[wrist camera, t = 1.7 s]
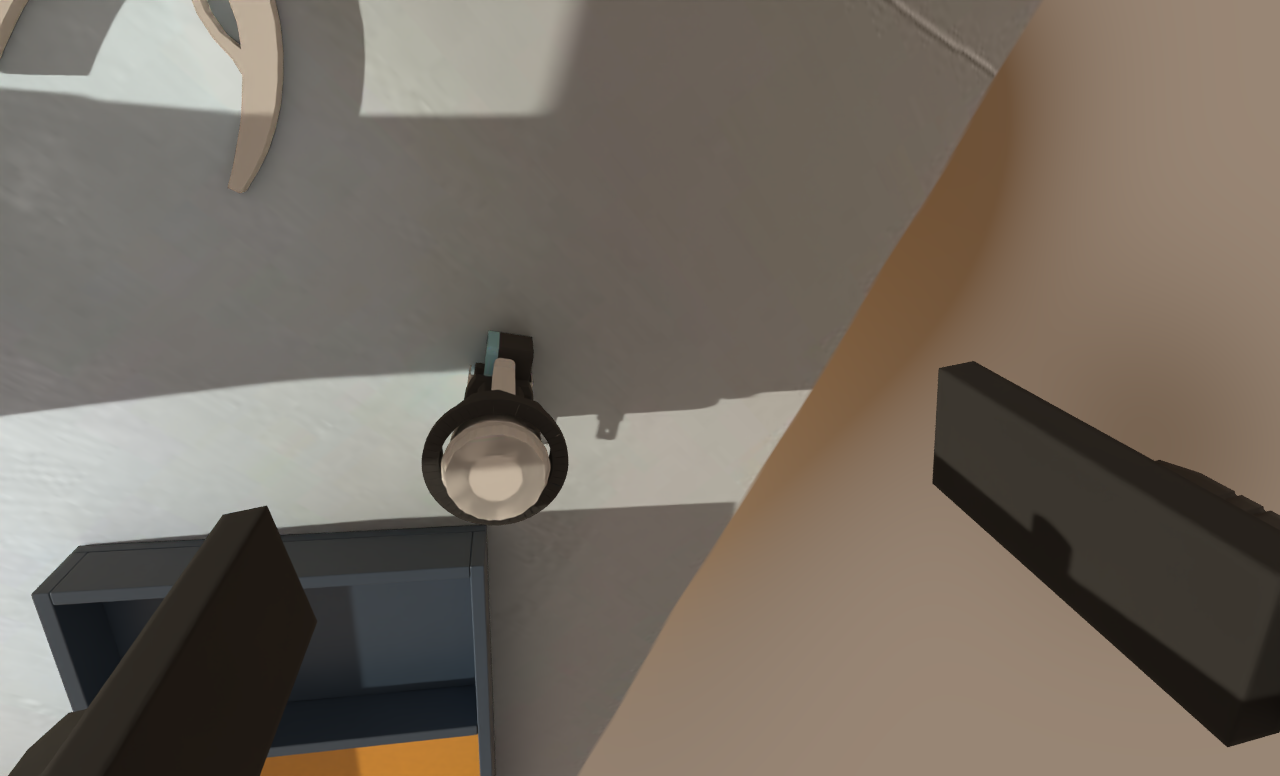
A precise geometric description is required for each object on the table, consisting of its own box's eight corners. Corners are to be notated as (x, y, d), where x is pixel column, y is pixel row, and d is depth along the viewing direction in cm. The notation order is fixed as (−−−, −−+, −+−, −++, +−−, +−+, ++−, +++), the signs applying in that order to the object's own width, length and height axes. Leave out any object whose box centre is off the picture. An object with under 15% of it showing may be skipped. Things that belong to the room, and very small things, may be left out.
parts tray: (173, 845, 41) (144, 909, 38) (78, 545, 32) (30, 594, 29) (496, 804, 44) (495, 859, 41) (486, 524, 36) (484, 565, 33)
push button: (540, 452, 35) (551, 574, 26) (435, 441, 34) (408, 565, 25) (562, 333, 33) (582, 420, 24) (450, 316, 31) (426, 401, 22)
